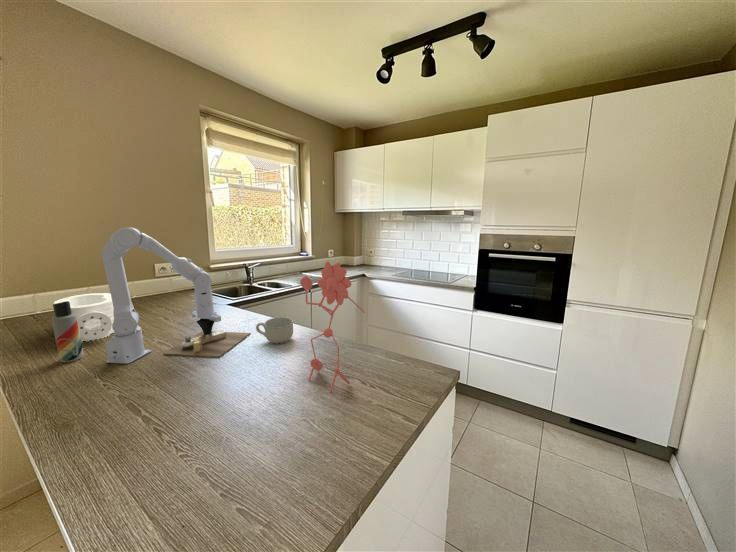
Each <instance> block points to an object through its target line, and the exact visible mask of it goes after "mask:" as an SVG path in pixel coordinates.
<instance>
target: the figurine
mask: <svg viewBox="0 0 736 552" xmlns="http://www.w3.org/2000/svg"><path fill="white" fill-rule="evenodd" d="M347 272H348V271H347V269H346V268H345V267H341V263H340V262H336V263H334V264H333V266H332V265H331V263H330V261H326V262H325V264H324V268H322V269H321V273H320V274H321V278H319V279H318V280H317V281H316V282H317V285H318V287H319V288H320V289H321V295H322V298H321V300H320V302H308V291H309V290H311V289H312V287H313V281H312V280H311V278H309V277H308V276H307V275H306V276H302V277H301V279H300V282H299V283H300V286H301V287H302V288H303V290H305V304H306V305H315V306H318V307H321V308H322V309H323V310H324V311H325V312H327V313H328V314H329V315H330V321H329V325H328V327H327V328H325V329H324V330H323V332H322V333H321V334H319V335H317V336H315V337H312V338H310V344H311V348H312V351H313V352H312V353H313V357H314V358H312V359H310V360H311V361H310V362H309V363H310V366H311V367H312V369H311V370H310V374H309V378H308V381H311V379H312V377H313V372H314V370H315V371H316V372H320V371H321V370H322V369H323V367H324V365H323V364H324V363H323V362H321V361H320V360H319V359H317V357H316V352H315V348H314V343H313V340H314V339H317V338H319V337H321V336H324V337H325V338H328V339H329V338H331V337H332V339H333V341H334V343H335V345H336V347H337V361H335V364H336V365H337V368H336V367H334V368H333V370H334V371H335V373H334V376H333V380H332V382H331V386H330V389H329V393H330V392H332V391H333V388H334V384H335V382H336V378H337V376H339V377H340V378H341V379H342V380H343V381H344V382H345V383H347V384H348V385H350V386H351V383H350V381H349V379H348V378H347V377H346V376H345V375H344V374H343V373H342V372H341V371H340V368H339V366H340V365H341V363H340V362H339V361H340V346H339V344H338V342H337V340H336V338H335V336H334V334H333V333H334V332H333V329H332V328H331V324H332V321H333V318H334V314H335V312H336V311H337V309H338V308H339V306H342V305H343V303H344V299H345V300H346V299H348V300H349V301H350V302H352V303H353V304H354V305H355V306H356V307H357V308H358V309H359V310H360V311H362V313H363V314H366V311H364V310H363V309H362V308H361V307H360V306H359V305H358V304H357V303H356V302H355V301H354V300H353V299H352V298H351V297H350V296H349V292H348V291H349V290H348V288H350V287H352V281H351V280H350V278H348V277H346V275H347ZM325 298H326V303H327V305H332V304H333V303H335V301H336V306H335V307H334V308H333V310H332V309H330V308H329V307H326V306H325V305H323V302H324V300H325ZM342 365H344V366H347V367H349V368H350V367H351V368H353V369H355V370H356V371H358V372H359V370H358V369H357V368H355V367H353V366H352V365H351V364H345V363H342ZM348 399H349V397H347V398H345V399H343V401H345V400H348Z"/></svg>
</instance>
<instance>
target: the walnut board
mask: <svg viewBox="0 0 736 552" xmlns="http://www.w3.org/2000/svg"><path fill="white" fill-rule="evenodd" d="M214 332H215V331H213V330H212V333H214ZM225 332H226V337H224V338H221V339H218V340H214V341H211V342H208V343H204V344H202V349H203V350H202V351H201V352H200V353H194V347H192V348H189V349H183V348H182V342H181V343H179V344H177V345H175V346H174V347H172V348H170V349H168V350H167V351H165V352H163V353H162V354H163V356H175V355H179V356H178V357H195V356H199V358H200V357H201V358H215V357H221V356H222V355H223V356H225V355H226V354H227V353H229V352H230V351H231V350H232V349H234V348H235V347H236V346H238V345H239V344H240V343H242V340H243V339H244V340H245V339H246V338H248V337H249V336H251V332H237V331H235V332H233V331H232V332H231V331H225ZM202 335H204V333H203V331H202V330H201V331H200V332H198V333H196V334H195V335H192V336H190V337H191V339H193V338H197V337H200V336H202ZM247 336H248V337H247ZM244 340H243V341H244ZM238 343H239V344H238ZM234 346H235V347H234ZM233 347H234V348H233ZM230 349H231V350H230ZM229 350H230V351H229ZM226 352H227V353H226ZM225 353H226V354H225ZM224 354H225V355H224ZM223 356H222V357H223ZM222 357H221V358H222Z"/></svg>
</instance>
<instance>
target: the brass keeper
mask: <svg viewBox="0 0 736 552" xmlns="http://www.w3.org/2000/svg"><path fill="white" fill-rule="evenodd" d="M207 337H208V335H202V336H201V337H200V338H198V339H197V340H196V341H195V342H194V343H193V347H194V353H200V352H201V351H202V350H203V349H202V342H203V341H204V340H205V339H206V338H207Z"/></svg>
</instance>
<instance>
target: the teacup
mask: <svg viewBox="0 0 736 552" xmlns="http://www.w3.org/2000/svg"><path fill="white" fill-rule="evenodd" d="M260 326H262V327H263V329H264V331H263V330H261V329H260ZM255 329H256V332H258V333H259V334H260V335H263V336H264V337H265V339H266V340H267V341H269V342H270V343H271V344H274V343H276V345H279V344H278V343H281V344H285V343H287V342H288V341H290V339H291V338H292V337H293V336H294V320H293V319H292V318H291V317H285V316H277V317H272V318H269V319H267V320H265V322H261V321H260V322H258V323H257V324H256V327H255ZM284 342H285V343H284Z"/></svg>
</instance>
